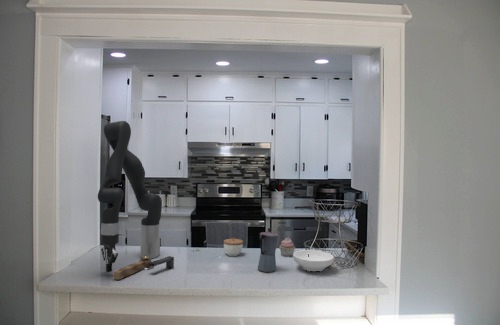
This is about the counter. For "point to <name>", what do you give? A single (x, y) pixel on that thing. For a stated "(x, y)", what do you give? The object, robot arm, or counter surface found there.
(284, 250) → the cupcake
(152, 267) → the pin base
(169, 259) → the keeper
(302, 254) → the bowl
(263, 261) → the moka pot
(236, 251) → the lidded jar
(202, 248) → the mounting bracket
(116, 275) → the walnut link
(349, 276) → the counter surface
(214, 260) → the counter surface
